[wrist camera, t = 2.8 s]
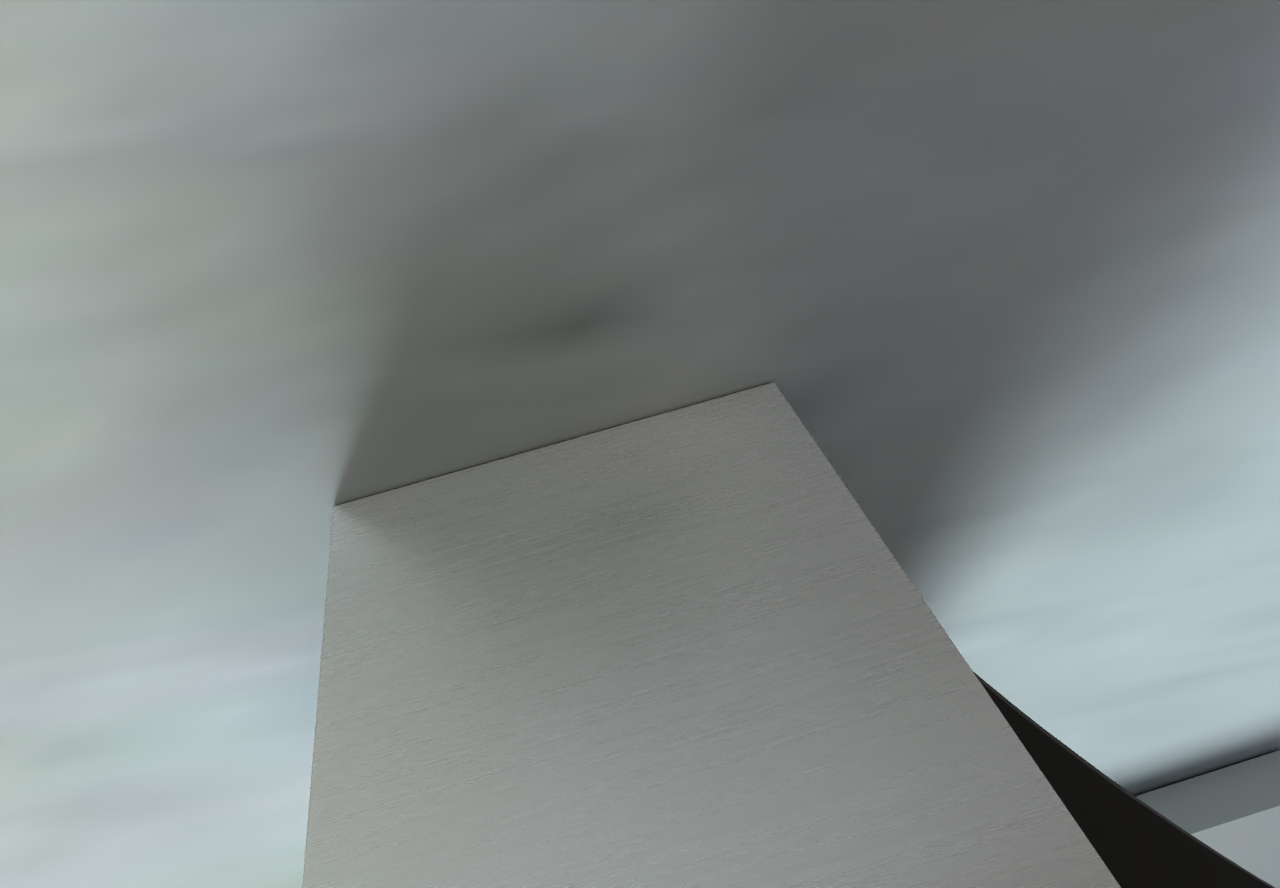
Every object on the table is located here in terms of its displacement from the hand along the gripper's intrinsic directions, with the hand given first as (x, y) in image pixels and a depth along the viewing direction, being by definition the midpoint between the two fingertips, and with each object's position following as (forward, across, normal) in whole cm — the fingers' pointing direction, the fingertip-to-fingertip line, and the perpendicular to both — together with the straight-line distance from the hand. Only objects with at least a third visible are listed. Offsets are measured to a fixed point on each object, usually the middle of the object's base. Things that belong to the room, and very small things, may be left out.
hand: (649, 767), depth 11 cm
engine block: (+2, 0, 0) cm, 2 cm away
